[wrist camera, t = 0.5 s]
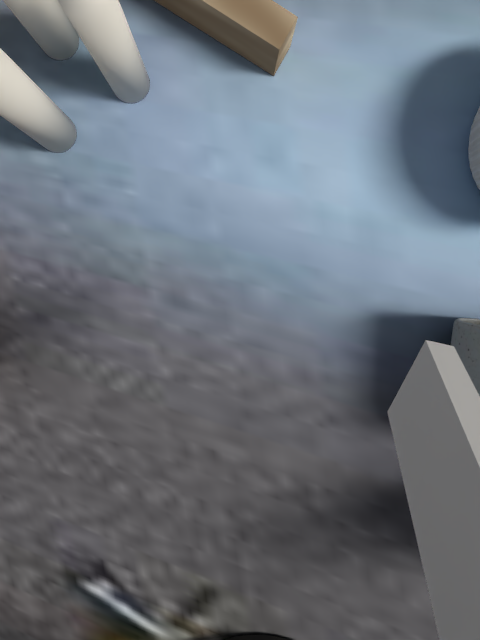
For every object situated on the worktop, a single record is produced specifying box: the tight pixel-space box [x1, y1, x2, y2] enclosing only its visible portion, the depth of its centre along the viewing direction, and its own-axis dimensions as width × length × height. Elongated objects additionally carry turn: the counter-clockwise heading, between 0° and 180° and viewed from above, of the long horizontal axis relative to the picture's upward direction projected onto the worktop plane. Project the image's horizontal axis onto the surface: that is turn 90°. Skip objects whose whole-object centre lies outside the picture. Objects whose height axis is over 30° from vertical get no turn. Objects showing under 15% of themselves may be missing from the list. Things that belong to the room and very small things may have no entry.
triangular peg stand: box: [154, 0, 298, 76], centre depth 24 cm, size 15×20×3 cm
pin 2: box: [58, 0, 150, 103], centre depth 22 cm, size 2×2×8 cm
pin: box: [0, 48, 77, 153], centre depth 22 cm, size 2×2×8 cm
